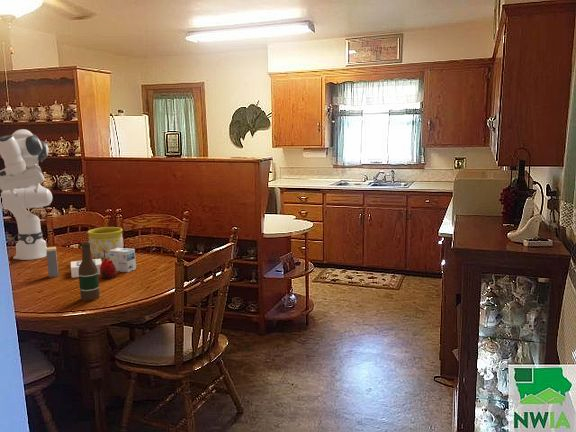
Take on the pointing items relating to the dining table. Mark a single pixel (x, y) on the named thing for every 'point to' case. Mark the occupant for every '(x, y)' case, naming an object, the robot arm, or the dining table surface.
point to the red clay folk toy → (107, 268)
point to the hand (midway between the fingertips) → (27, 194)
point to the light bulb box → (123, 259)
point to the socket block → (76, 265)
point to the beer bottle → (88, 275)
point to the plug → (52, 262)
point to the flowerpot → (104, 241)
